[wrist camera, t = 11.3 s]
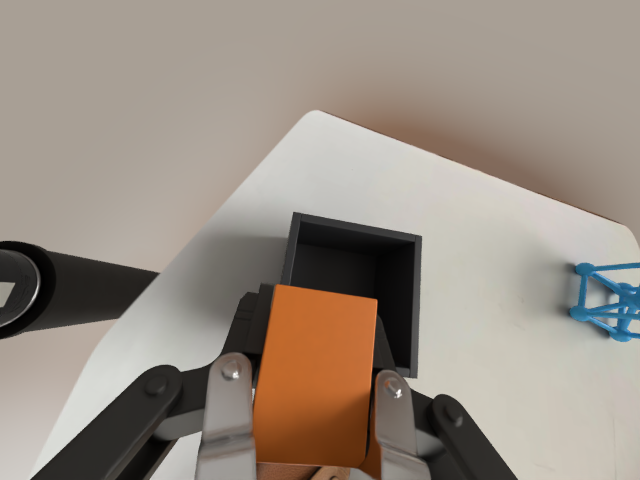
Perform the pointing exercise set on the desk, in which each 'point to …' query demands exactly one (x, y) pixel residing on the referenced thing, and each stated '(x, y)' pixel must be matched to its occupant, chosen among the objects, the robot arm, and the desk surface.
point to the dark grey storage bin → (362, 274)
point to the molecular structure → (625, 300)
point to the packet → (315, 379)
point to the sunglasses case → (299, 472)
